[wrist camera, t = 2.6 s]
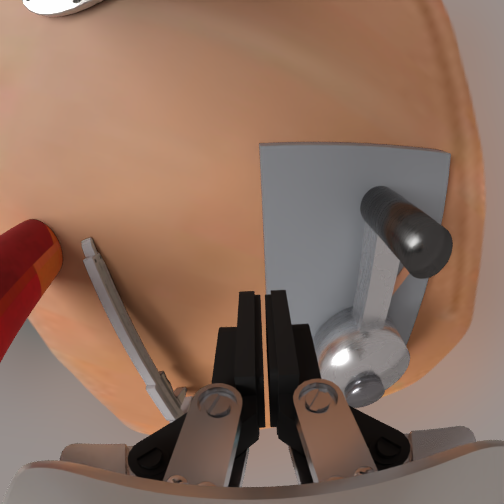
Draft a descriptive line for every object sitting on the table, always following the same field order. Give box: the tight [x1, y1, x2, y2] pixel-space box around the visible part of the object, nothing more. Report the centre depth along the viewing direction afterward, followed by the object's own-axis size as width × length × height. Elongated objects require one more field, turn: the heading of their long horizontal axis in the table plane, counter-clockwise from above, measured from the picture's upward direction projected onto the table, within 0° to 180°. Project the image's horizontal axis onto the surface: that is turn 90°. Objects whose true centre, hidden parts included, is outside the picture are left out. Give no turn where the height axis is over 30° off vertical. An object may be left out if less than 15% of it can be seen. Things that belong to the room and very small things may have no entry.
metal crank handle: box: [313, 186, 453, 408], centre depth 17 cm, size 16×7×7 cm, turn 3°
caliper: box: [81, 237, 193, 423], centre depth 22 cm, size 20×1×6 cm, turn 17°
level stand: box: [259, 142, 451, 346], centre depth 21 cm, size 22×13×2 cm, turn 3°
